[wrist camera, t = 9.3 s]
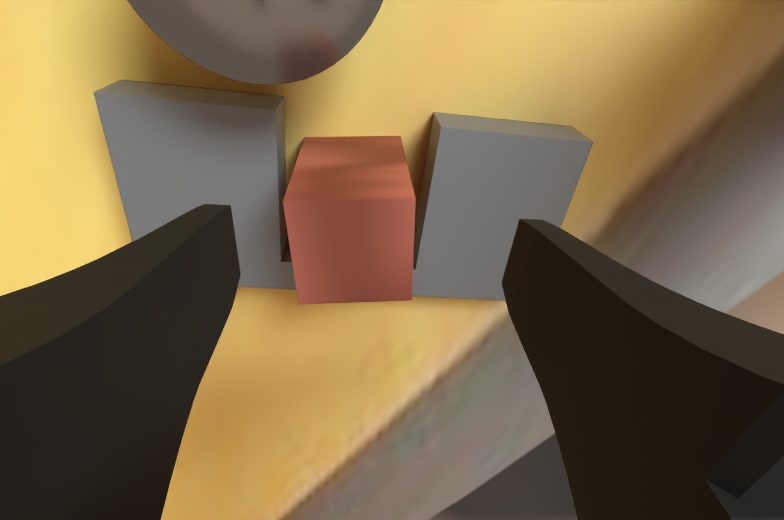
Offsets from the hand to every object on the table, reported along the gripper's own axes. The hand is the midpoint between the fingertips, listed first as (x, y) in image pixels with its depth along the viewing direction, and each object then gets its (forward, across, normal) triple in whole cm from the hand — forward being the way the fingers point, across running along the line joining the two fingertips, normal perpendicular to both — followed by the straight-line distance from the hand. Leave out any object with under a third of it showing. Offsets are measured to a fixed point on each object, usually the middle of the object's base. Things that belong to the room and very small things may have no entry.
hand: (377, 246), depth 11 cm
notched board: (+8, +1, +3) cm, 9 cm away
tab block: (+8, +1, +2) cm, 9 cm away
